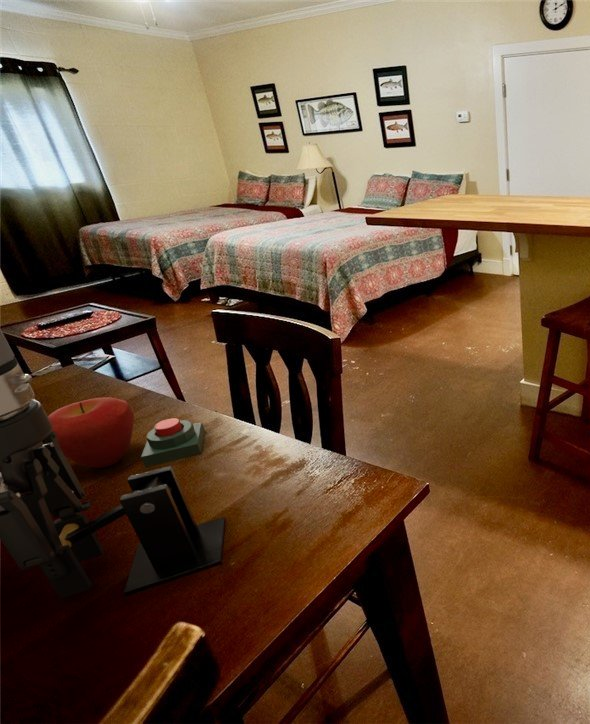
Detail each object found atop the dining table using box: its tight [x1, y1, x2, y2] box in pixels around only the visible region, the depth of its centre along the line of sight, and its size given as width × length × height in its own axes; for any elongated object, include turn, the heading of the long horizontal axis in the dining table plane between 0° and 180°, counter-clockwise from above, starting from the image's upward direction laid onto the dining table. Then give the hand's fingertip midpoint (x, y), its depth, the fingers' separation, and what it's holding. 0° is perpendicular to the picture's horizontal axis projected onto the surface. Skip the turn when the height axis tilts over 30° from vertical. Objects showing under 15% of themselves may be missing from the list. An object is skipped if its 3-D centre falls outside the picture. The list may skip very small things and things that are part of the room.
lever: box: [58, 477, 172, 548], centre depth 57 cm, size 12×5×2 cm, turn 117°
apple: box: [47, 396, 135, 469], centre depth 79 cm, size 11×11×12 cm
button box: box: [140, 419, 206, 468], centre depth 84 cm, size 8×8×4 cm
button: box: [153, 417, 182, 437], centre depth 83 cm, size 4×4×2 cm
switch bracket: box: [119, 465, 227, 597], centre depth 60 cm, size 10×9×13 cm
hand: (83, 573), depth 58 cm, fingers closed on lever, 5 cm apart
